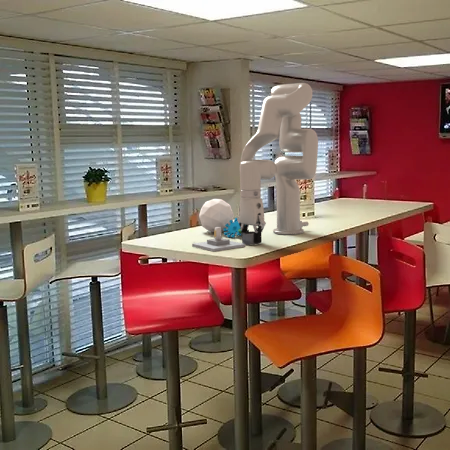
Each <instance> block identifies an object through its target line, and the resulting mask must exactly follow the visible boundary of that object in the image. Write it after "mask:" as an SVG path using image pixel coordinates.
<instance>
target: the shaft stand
mask: <svg viewBox="0 0 450 450" xmlns="http://www.w3.org/2000/svg"><path fill="white" fill-rule="evenodd" d="M213 234H214V235H213V237H214V238H210V239H206V241H202V242H194V243H191V246H192V247H194V248H197V249H201V250H202V249H203V250H204V251H205V250H206V251H210V252H219V251H226V250H231V249H232V250H234V249H240V248H245V247H246V245H245V244H243V243H242V242H237V241H233V240H230V239H229V238H228V239H227V238H224V237H223V238H222V232H221V227H216V228H215V230H214V232H213Z"/></svg>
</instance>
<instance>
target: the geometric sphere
mask: <svg viewBox="0 0 450 450" xmlns="http://www.w3.org/2000/svg"><path fill="white" fill-rule="evenodd" d="M199 211H200V212H199V214H198V218H199V221H200V223H201V227H203V228H204V229H206V230H207V231H208V232H211V233H214V230H215V228H216V227H221V233H222V232H223V233H224V231H223V230H224V228H226V229H228V227H226V226H225V225H226V224H227V223H228V224H229V226H230V222H229V221H230V220H233V221H234V211H233V210H232V205H231V204H229V203H228V202H227V201H225V200H223V199H221V198H212V199H210V200H207V201H205V202H204V203H203V204H202V207H201V209H200V210H199Z"/></svg>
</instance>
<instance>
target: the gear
mask: <svg viewBox="0 0 450 450" xmlns="http://www.w3.org/2000/svg"><path fill="white" fill-rule="evenodd" d="M237 219H238V217H234V219H233V220H230V221H229V222H230V226H229V224H228V223H227V224H226V225H225V226H226V227H228V229H226V228H224V230H223V235H224V236H225V237H226V238H228V239H230V238H232V239H235V237H241V230H240V228H241V227H240V226H239V223H238V221H237ZM245 226H246V225H245Z"/></svg>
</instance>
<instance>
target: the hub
mask: <svg viewBox="0 0 450 450" xmlns="http://www.w3.org/2000/svg"><path fill="white" fill-rule="evenodd" d="M254 233H255V231H252V230H251V231H250V230H249V232H243V233H242V237H241V243H243V244H245V246H257V245H258V246H259V245H261V244H262V242H261V243H256V244H255V243H254Z"/></svg>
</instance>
